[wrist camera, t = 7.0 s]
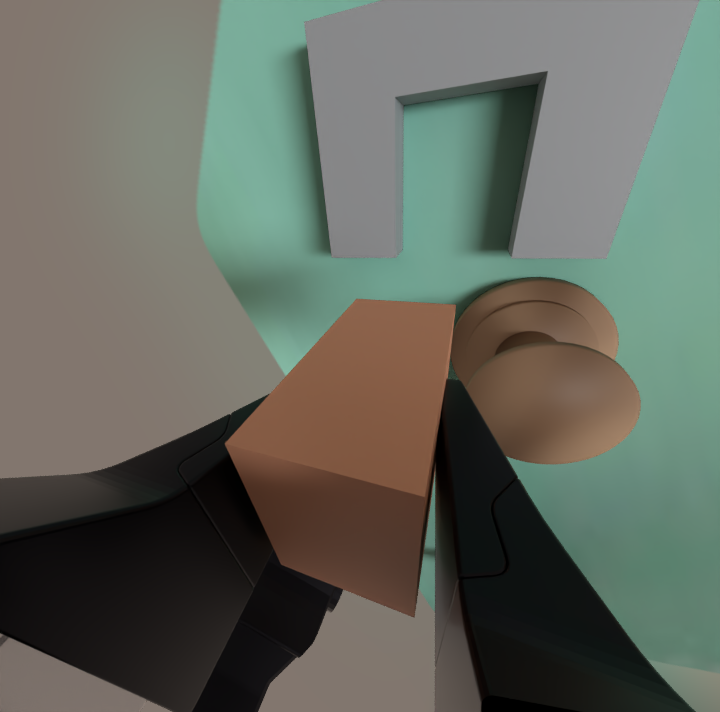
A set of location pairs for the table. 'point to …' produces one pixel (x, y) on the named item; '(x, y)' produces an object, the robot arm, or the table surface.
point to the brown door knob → (545, 370)
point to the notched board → (484, 74)
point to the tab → (354, 450)
